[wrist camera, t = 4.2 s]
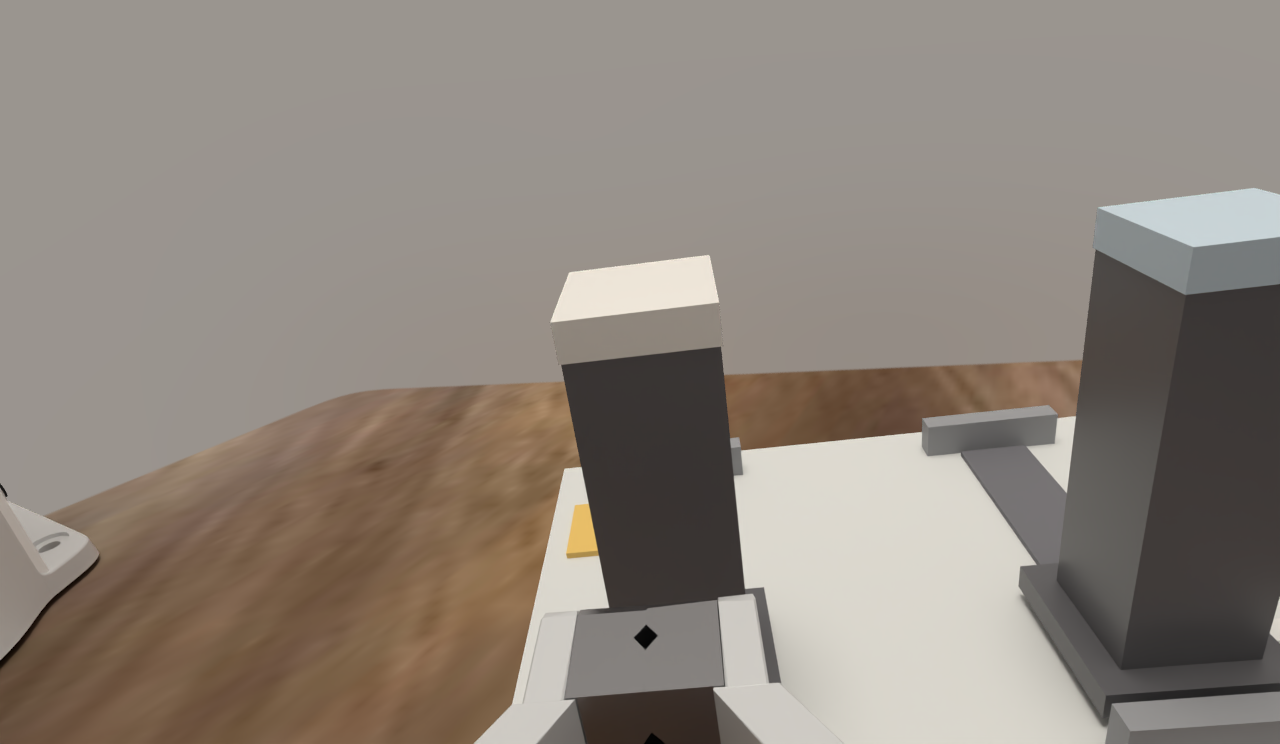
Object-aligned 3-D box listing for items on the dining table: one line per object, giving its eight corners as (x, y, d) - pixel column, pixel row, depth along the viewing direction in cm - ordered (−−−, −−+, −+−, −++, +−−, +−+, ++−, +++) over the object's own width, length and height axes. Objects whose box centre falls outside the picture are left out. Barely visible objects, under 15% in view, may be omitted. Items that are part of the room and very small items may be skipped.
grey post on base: (604, 751, 20) (511, 338, 15) (614, 619, 25) (546, 267, 20) (789, 737, 20) (756, 309, 15) (765, 606, 24) (734, 244, 19)
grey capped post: (1102, 718, 19) (1178, 261, 14) (1018, 586, 24) (1053, 205, 19) (1308, 703, 19) (1461, 228, 14) (1183, 572, 23) (1264, 178, 18)
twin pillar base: (486, 884, 19) (464, 822, 18) (568, 486, 35) (559, 443, 34) (1520, 825, 17) (1558, 751, 16) (1098, 433, 33) (1105, 385, 32)
